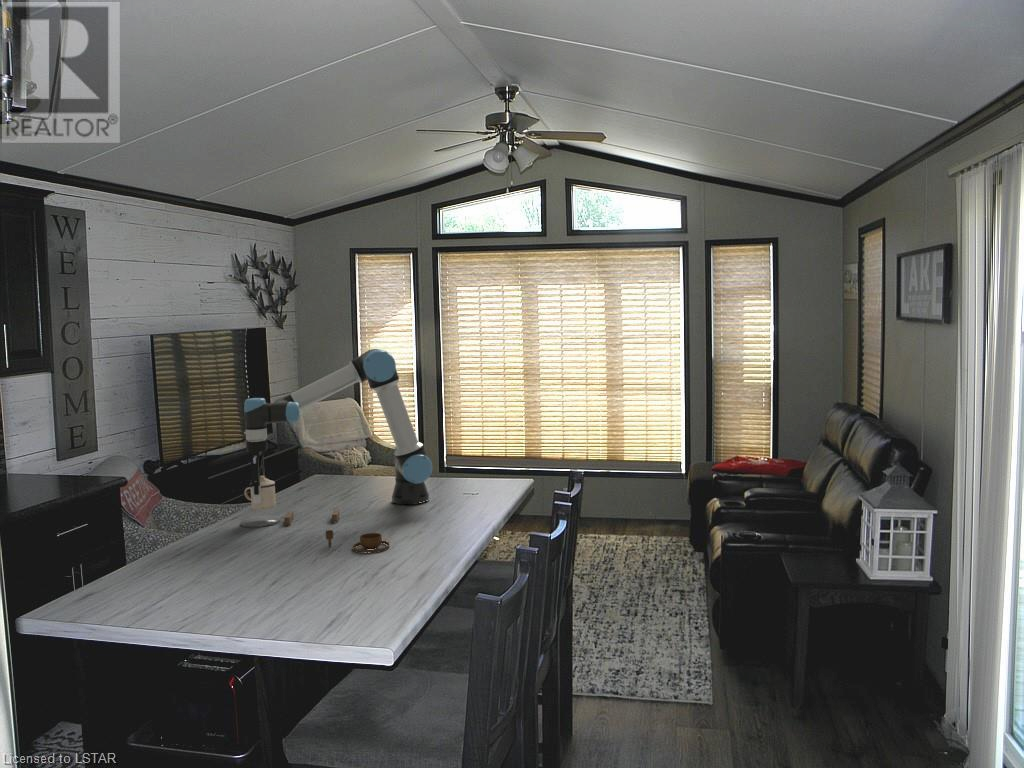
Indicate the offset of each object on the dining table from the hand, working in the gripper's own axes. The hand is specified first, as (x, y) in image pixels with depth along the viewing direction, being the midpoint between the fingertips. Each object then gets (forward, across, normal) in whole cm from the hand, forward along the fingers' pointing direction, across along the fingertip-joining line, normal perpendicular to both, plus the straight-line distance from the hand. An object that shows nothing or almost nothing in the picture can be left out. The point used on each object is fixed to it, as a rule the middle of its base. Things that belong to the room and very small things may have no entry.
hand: (259, 500), depth 309 cm
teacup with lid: (+3, -1, 0) cm, 3 cm away
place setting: (+9, +41, +39) cm, 57 cm away
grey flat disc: (+9, 0, 0) cm, 9 cm away
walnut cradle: (+8, +2, +19) cm, 21 cm away
